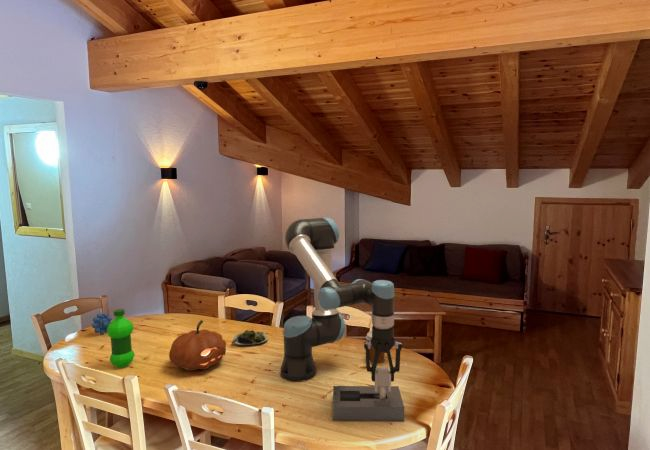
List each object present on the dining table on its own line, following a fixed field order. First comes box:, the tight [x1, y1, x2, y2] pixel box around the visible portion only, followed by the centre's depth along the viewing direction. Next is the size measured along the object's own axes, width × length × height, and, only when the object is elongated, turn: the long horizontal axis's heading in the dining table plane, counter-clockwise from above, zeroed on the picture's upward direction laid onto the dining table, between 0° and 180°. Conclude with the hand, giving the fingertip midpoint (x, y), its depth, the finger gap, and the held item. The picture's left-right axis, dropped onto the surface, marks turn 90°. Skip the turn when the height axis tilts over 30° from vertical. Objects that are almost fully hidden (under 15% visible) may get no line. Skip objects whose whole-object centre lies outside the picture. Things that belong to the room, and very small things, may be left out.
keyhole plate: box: [332, 385, 405, 422], centre depth 147 cm, size 24×14×5 cm, turn 88°
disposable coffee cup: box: [365, 330, 385, 364], centre depth 186 cm, size 10×10×12 cm
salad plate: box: [231, 329, 268, 348], centre depth 212 cm, size 19×18×5 cm
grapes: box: [91, 312, 113, 335], centre depth 221 cm, size 12×7×12 cm, turn 155°
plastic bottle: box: [106, 308, 135, 369], centre depth 183 cm, size 10×10×25 cm
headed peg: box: [376, 366, 390, 399], centre depth 146 cm, size 5×5×14 cm
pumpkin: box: [168, 319, 227, 371], centre depth 183 cm, size 25×25×19 cm
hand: (382, 389), depth 146 cm, fingers closed on headed peg, 4 cm apart
